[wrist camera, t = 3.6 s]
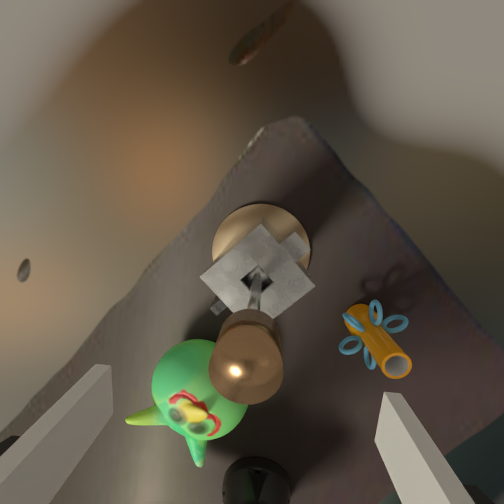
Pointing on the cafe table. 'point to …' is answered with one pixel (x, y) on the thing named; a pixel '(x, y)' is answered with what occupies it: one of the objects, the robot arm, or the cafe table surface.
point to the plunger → (248, 350)
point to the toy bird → (189, 398)
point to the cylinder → (376, 339)
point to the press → (270, 260)
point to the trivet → (248, 216)
